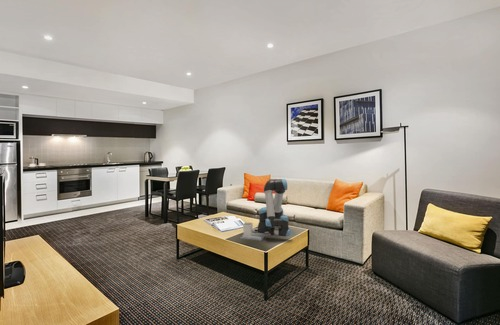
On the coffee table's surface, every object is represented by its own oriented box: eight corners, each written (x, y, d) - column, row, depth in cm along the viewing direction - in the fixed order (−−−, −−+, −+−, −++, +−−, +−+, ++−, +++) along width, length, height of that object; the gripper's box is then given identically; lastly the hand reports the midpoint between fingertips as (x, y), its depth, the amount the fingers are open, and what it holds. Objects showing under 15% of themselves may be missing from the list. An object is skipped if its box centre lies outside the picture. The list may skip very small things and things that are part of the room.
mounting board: (245, 234, 273) (245, 231, 272) (265, 235, 266) (265, 233, 266) (240, 238, 257) (240, 236, 257) (261, 240, 251) (261, 238, 250)
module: (245, 234, 267) (245, 222, 267) (252, 235, 265) (252, 222, 264) (243, 236, 262) (243, 223, 261) (251, 236, 259) (250, 224, 259)
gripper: (273, 237, 248) (250, 235, 255) (276, 233, 261) (253, 231, 268) (273, 229, 248) (249, 227, 255) (276, 225, 260) (253, 224, 268)
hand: (251, 229), depth 261 cm, fingers closed
